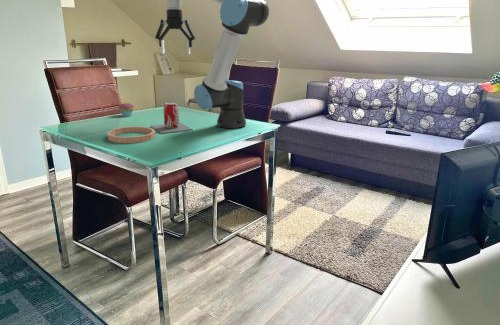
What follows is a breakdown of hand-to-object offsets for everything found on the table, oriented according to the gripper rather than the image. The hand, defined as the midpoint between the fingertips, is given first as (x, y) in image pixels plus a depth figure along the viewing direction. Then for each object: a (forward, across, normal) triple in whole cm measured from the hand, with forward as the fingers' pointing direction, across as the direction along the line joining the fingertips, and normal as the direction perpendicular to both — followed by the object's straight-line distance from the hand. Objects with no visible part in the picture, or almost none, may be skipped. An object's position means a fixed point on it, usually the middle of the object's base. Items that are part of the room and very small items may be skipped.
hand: (176, 53), depth 194 cm
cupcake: (+35, +32, -6) cm, 48 cm away
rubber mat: (+35, -2, +19) cm, 40 cm away
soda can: (+34, -2, +19) cm, 39 cm away
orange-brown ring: (+35, +10, +38) cm, 52 cm away
